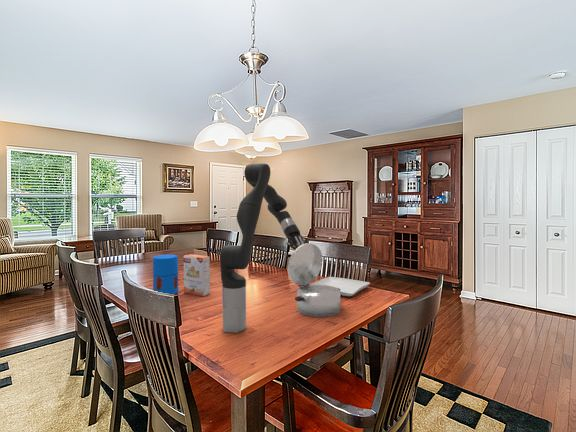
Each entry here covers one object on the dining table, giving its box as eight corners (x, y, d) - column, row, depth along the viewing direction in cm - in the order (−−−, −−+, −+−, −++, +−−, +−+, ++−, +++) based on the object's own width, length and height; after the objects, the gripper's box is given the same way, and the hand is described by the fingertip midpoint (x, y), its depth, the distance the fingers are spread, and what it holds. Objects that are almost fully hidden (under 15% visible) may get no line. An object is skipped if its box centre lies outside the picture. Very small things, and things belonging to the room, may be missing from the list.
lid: (287, 289, 150) (284, 288, 152) (320, 282, 162) (317, 281, 164) (291, 245, 147) (288, 244, 148) (324, 242, 159) (321, 241, 161)
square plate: (370, 288, 185) (370, 281, 185) (352, 300, 162) (352, 293, 162) (329, 281, 200) (329, 275, 200) (307, 291, 177) (307, 285, 177)
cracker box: (183, 293, 173) (182, 255, 172) (191, 290, 178) (191, 253, 177) (202, 297, 166) (202, 257, 165) (210, 294, 172) (210, 255, 171)
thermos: (170, 314, 141) (169, 259, 139) (148, 313, 143) (147, 258, 141) (183, 306, 151) (182, 255, 150) (162, 305, 153) (161, 254, 152)
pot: (283, 308, 149) (283, 290, 148) (324, 298, 164) (324, 281, 163) (311, 322, 132) (311, 301, 132) (353, 309, 148) (353, 290, 147)
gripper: (282, 224, 158) (297, 252, 149) (303, 223, 166) (318, 249, 157) (276, 234, 162) (290, 261, 153) (296, 232, 170) (311, 258, 161)
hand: (304, 255), depth 155 cm, fingers closed
